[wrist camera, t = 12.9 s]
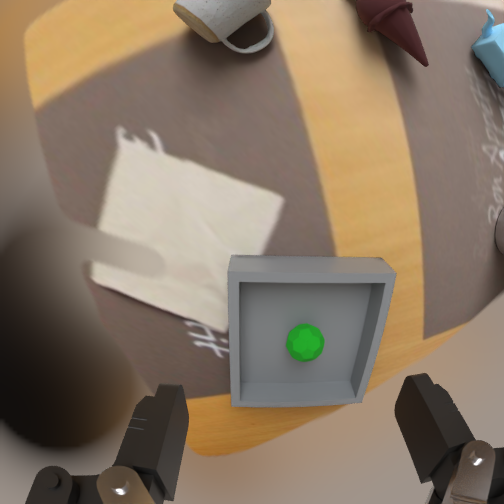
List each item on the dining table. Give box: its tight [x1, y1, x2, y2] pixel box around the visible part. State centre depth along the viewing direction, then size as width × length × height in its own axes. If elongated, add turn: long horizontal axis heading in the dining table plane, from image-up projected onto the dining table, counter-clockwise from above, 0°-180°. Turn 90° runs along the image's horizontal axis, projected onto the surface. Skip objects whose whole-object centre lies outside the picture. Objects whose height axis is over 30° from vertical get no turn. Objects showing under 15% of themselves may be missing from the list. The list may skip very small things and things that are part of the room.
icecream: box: [356, 0, 429, 67], centre depth 25 cm, size 7×7×15 cm
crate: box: [228, 255, 396, 407], centre depth 39 cm, size 19×21×5 cm
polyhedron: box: [286, 323, 325, 362], centre depth 38 cm, size 5×5×5 cm
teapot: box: [471, 9, 504, 87], centre depth 24 cm, size 12×6×8 cm, turn 49°
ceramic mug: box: [173, 0, 274, 53], centre depth 25 cm, size 11×8×8 cm
